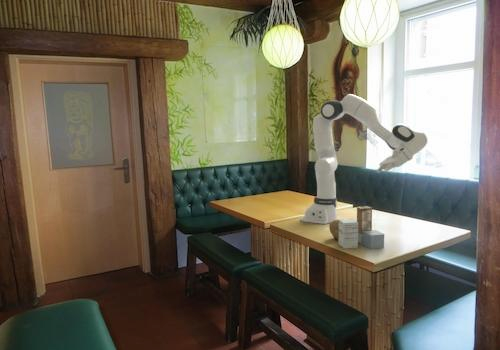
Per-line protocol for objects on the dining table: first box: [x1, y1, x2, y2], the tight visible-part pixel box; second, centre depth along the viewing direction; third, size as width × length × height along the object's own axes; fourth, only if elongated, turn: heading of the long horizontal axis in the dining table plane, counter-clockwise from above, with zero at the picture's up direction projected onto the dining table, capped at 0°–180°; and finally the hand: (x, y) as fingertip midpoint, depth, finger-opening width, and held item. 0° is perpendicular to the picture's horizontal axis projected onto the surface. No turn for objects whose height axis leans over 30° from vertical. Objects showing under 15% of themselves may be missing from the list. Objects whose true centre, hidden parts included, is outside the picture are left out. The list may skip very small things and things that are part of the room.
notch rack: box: [358, 229, 385, 250], centre depth 188 cm, size 7×16×6 cm, turn 13°
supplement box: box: [338, 218, 359, 249], centre depth 184 cm, size 7×7×13 cm
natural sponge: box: [328, 219, 339, 240], centre depth 196 cm, size 9×9×10 cm
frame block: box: [356, 205, 373, 234], centre depth 191 cm, size 6×4×13 cm
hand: (381, 171), depth 200 cm, fingers open, 8 cm apart
